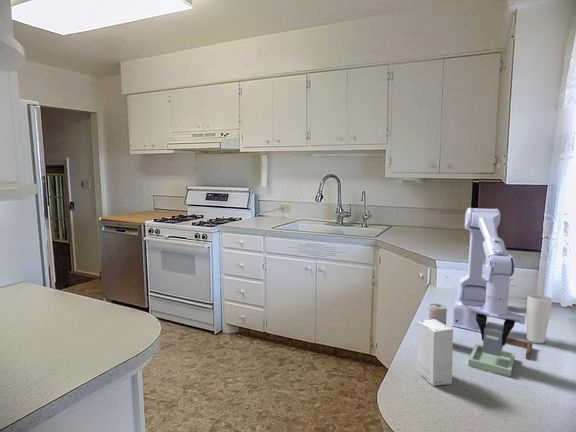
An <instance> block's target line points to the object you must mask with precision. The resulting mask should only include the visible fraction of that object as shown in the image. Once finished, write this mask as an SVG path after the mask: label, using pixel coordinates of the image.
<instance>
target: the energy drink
mask: <svg viewBox="0 0 576 432" xmlns="http://www.w3.org/2000/svg"><path fill="white" fill-rule="evenodd" d="M447 312H448V310H447V306H446V305H444V304H440V303H430V305H429V308H428V319H427V320H432V319H436V320H437V321H439V322H441V323H443V324H444V325H446V326H447Z"/></svg>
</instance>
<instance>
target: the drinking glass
mask: <svg viewBox="0 0 576 432" xmlns="http://www.w3.org/2000/svg"><path fill="white" fill-rule="evenodd" d="M525 308H526V310H525V311H526V334H525V336H526V337H525V338H526V340H527V341H528V342H532V343H534V344H544V343H545V342H546V337H547V332H548V325H549V321H550V316H551V310H552V298H551V297H549V296H546V295H544V294H543V295H542V294H538V293H531V294H528V295H527V299H526V307H525Z"/></svg>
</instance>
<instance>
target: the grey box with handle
mask: <svg viewBox="0 0 576 432" xmlns="http://www.w3.org/2000/svg"><path fill="white" fill-rule="evenodd" d="M503 331H504V323H497V322H494V321H493V322H492V321H487V322H486V326H485V328H484V340H483V341H482V345H483V352H484V353H488V354H492V355H496V356H501V353H502V350H504V346H503V345H502V339H503Z"/></svg>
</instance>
